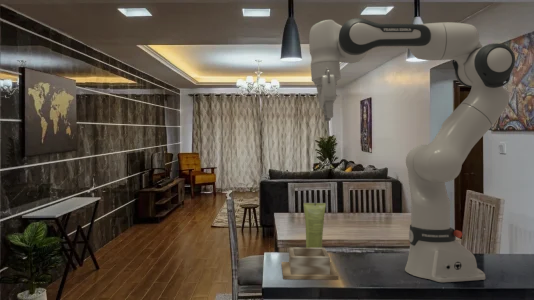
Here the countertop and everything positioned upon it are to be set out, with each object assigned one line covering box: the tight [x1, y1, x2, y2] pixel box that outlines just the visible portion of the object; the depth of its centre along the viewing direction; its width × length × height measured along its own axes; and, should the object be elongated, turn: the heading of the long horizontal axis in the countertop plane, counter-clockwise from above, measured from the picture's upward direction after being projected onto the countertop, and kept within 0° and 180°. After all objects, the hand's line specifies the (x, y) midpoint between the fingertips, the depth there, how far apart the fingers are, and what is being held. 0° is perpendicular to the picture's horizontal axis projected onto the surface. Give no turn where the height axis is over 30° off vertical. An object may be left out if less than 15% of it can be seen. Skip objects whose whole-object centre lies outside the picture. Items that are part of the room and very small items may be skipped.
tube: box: [303, 202, 327, 248], centre depth 142 cm, size 6×5×20 cm
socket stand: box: [281, 246, 339, 281], centre depth 131 cm, size 16×14×6 cm
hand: (328, 119), depth 130 cm, fingers open, 8 cm apart
